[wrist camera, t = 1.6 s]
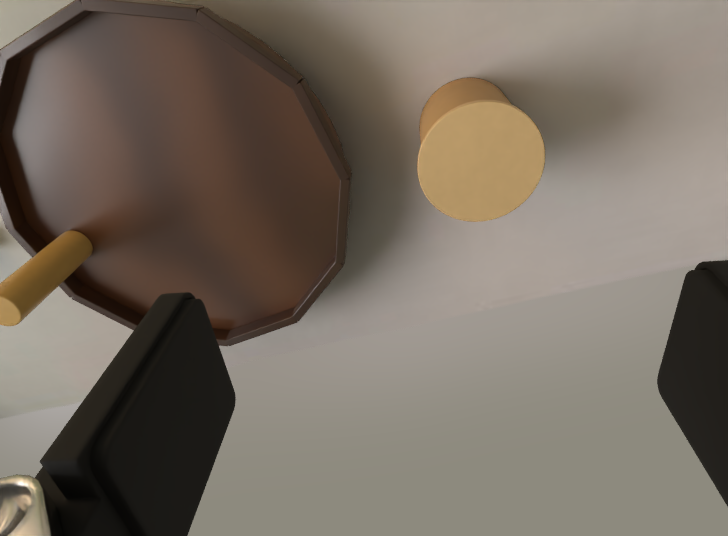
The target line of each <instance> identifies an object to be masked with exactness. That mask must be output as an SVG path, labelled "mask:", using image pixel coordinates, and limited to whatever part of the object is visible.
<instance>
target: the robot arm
mask: <svg viewBox="0 0 728 536" xmlns="http://www.w3.org/2000/svg"><path fill="white" fill-rule="evenodd" d="M657 384H658V389H659V392H660V395H661V397H662V399H663V400H664V402H665V403H666V405H667V407H668V408H669V410H670V412H671V413H672V415H673V417H674V418H675V420H676V422H677V423H678V425H679V426H680V428H681V430H682V432H683V433H684V435H685V437H686V438H687V440H688V441H689V443H690V445H691V447H692V448H693V450H694V451H695V453H696V455H697V456H698V458H699V460H700V461H701V463H702V465H703V466H704V468H705V470H706V471H707V473H708V475H709V476H710V478H711V480H712V481H713V483H714V484H715V486H716V488H717V490H718V491H719V493H720V494H721V496H722V498H723V499H724V501H725V503H726V504H727V506H728V260H725V261H708V262H701V263H699V264H698V265H697V266H696V268H695V270H691V271H689V272H688V273H687V274H686V276H685V280H684V283H683V286H682V290H681V294H680V298H679V301H678V305H677V308H676V312H675V315H674V319H673V323H672V327H671V330H670V334H669V338H668V341H667V345H666V348H665V352H664V355H663V359H662V363H661V366H660V370H659V374H658V379H657ZM234 407H235V392H234V389H233V386H232V383H231V380H230V377H229V374H228V371H227V368H226V366H225V363H224V360H223V357H222V354H221V351H220V348H219V345H218V342H217V340H216V337H215V334H214V331H213V328H212V325H211V322H210V319H209V317H208V314H207V311H206V308H205V305H204V303H203V301H202V300H201V299H196V298H195V296H194V295H193V294H192V293H190V292H184V293H167V294H161V295H160V296H159V297H158V298H157V300H156V301H155V302H154V304H153V305H152V306H151V308H150V309H149V311H148V312H147V313H146V315H145V316H144V318H143V319H142V320H141V322H140V323H139V324H138V326H137V327H136V329H135V330H134V331H133V333H132V334H131V336H130V337H129V338H128V340H127V341H126V342H125V344H124V345H123V347H122V348H121V349H120V351H119V352H118V354H117V355H116V356H115V358H114V359H113V360H112V362H111V363H110V365H109V366H108V367H107V369H106V370H105V372H104V373H103V374H102V376H101V377H100V379H99V380H98V381H97V383H96V384H95V385H94V387H93V388H92V390H91V391H90V392H89V394H88V395H87V397H86V398H85V399H84V401H83V402H82V403H81V405H80V406H79V408H78V409H77V410H76V412H75V413H74V415H73V416H72V417H71V419H70V420H69V421H68V423H67V424H66V426H65V427H64V428H63V430H62V431H61V433H60V434H59V435H58V437H57V438H56V440H55V441H54V442H53V444H52V445H51V447H50V448H49V449H48V451H47V452H46V453H45V455H44V456H43V458H42V459H41V460H40V463H41V464H42V466H43V467H42V469H41V470H40V471H39V473H38V474H37V476H36V477H35V478H33V477H31V476H29V475H13V476H8V477H3V478H0V536H187V535H188V532H189V529H190V527H191V524H192V521H193V519H194V516H195V513H196V511H197V508H198V505H199V502H200V500H201V497H202V494H203V492H204V489H205V486H206V483H207V481H208V478H209V476H210V473H211V470H212V467H213V465H214V462H215V459H216V456H217V454H218V451H219V448H220V446H221V443H222V440H223V438H224V435H225V432H226V430H227V427H228V424H229V421H230V419H231V416H232V413H233V411H234Z"/></svg>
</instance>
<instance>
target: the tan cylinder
mask: <svg viewBox="0 0 728 536" xmlns="http://www.w3.org/2000/svg"><path fill="white" fill-rule="evenodd" d="M419 128H420V140H421V147H420V150H419V155H418V163H417V167H418V177H419V182H420V185H421V188H422V190H423V192H424V194H425V196H426V197H427V198H428V200H429V201H430V202H431V203H432V204H433V205H434V207H436V208H437V209H438V210H439V211H441V212H443V213H444V214H446V215H448V216H450V217H452V218H455V219H459V220H463V221H473V222H478V221H487V220H492V219H495V218H499V217H501V216H503V215H506V214H508V213H509V212H511V211H513V210H515V209H516V208H517V207H519V206H520V205H521V204H522V203H523V202H524V201H526V200H527V198H528V197H529V196H530V195H531V194H532V192H533V191H534V189H535V188H536V186H537V184H538V183H539V181H540V178H541V176H542V173H543V169H544V164H545V147H544V142H543V138H542V136H541V133H540V131H539V129H538V128H537V126H536V125H535V123H534V122H533V121H532V119H531V118H530V117H529V116H528V115H527V114H526V113H524V112H523V111H522V110H520V109H519V108H517V107H515V106H513V105H512V104H511V103H510V102H509V100H508V99H507V98H506V96H505V95H504V94H503V93H502V91H501V90H500V89H498V88H497V87H496V86H495V85H493V84H492V83H490V82H488V81H485V80H482V79H478V78H461V79H457V80H454V81H451V82H449V83H447V84H445V85H443V86H442V87H441V88H439V89H438V90H437V91H436V92H435V93H434V94H433V95H432V96H431V97H430V98H429V100H428V101H427V103H426V105H425V107H424V109H423V111H422V114H421V118H420V126H419Z"/></svg>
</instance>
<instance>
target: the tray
mask: <svg viewBox="0 0 728 536" xmlns="http://www.w3.org/2000/svg"><path fill="white" fill-rule="evenodd" d="M351 177H352V173H351V169H350V167H349V165H348V163H347V161H346V159H345V157H344V153H343V150H342V146H341V143H340V141H339V138H338V136H337V134H336V131H335V129H334V127H333V124H332V122H331V120H330V118H329V117H328V115H327V113H326V112H325V110H324V108H323V106H322V105H321V103H320V101H319V100H318V98H317V97H316V96H315V94H314V93H313V92H312V90H311V89H310V88H309V86H308V84H307V82H306V80H305V78H303V76H302V75H301V74H299V73H298V72H296V71H295V70H294V69H293V68H292V67H291V66H290V65H289V64H288V63H287V62H286V61H285V60H284V59H283V58H282V57H281V56H280V55H279V54H277V53H276V52H275V51H274V50H272V49H271V48H270V47H269V46H268V45H266V44H265V43H264V42H263V41H261V40H260V39H258V38H257V37H255V36H254V35H252V34H250V33H249V32H247V31H246V30H244V29H242V28H241V27H239V26H238V25H236V24H234V23H232V22H229V21H227V20H225V19H223V18H221V17H219V16H218V15H217V14H215V13H214V12H212V11H211V10H210V9H208V8H205V7H204V6H195V5H185V4H179V3H173V2H167V1H162V0H74V1H73V2H71V3H70V4H68V5H67V6H65V7H64V8H62V9H61V10H59V11H58V12H56V13H55V14H53V15H52V16H50V17H49V18H47V19H46V20H44V21H43V22H41V23H39V24H38V25H36V26H35V27H33V28H32V29H30V30H29V31H27V32H26V33H24V34H23V35H21V36H20V37H18V38H17V39H15V40H14V41H12V42H11V43H9V44H8V45H6V46H5V47H3V48H1V49H0V213H1V215H2V218H3V221H4V224H5V227H6V229H8V232H9V233H10V234H11V235H12V236H13V237H14V238H15V239H16V240H17V241H18V243H19V244H20V245H21V246H22V247H23V248H24V249H25V250H26V251H27V252H28V253H29V254H30V255H31V256H32V258H31V259H30V260H29V261H27V262H26V263H25V264H24V265H23V266H21V267H20V268H19V269H18V270H16V271H15V272H14V273H13V274H11V275H10V276H9V277H8V278H6V279H5V280H4V281H3V282H1V283H0V324H1V325H4V326H14V325H17V324H19V323H20V322H21V321H22V320H23V319H24V318H25V317H26V316H27V315H28V314H29V313H30V312H31V311H32V310H34V309H35V308H36V307H37V306H38V305H39V304H40V303H41V302H42V301H43V300H44V299H45V298H46V297H47V296H48V295H49V294H50V293H51V292H53V291H54V290H55V289H56V288H57V287H58V286H60V287H61V289H62V290H63V291H64V292H65V293H66V294H67V295H68V296H69V297H72V299H73V300H75V301H77V302H79V303H81V304H83V305H85V306H87V307H89V308H91V309H93V310H95V311H97V312H99V313H101V314H103V315H105V316H107V317H109V318H111V319H112V320H114V321H116V322H118V323H120V324H122V325H124V326H126V327H128V328H130V329H132V330H135V329H136V327H137V326H138V324H139V323H140V322H141V320H142V319H143V318H144V316H145V315H146V313H147V312H148V311H149V309H150V308H151V306H152V305H153V304H154V302H155V301H156V300H157V298H158V297H159V296H160V295H161V294H167V293H184V292H190V293H192V294H193V295H194V296H195V298H196V299H201V300H202V301H203V303H204V305H205V308H206V311H207V314H208V317H209V319H210V322H211V325H212V328H213V331H214V334H215V337H216V340H217V342H218V345H221V346H228V345H229V346H231V345H234V344H237V343H240V342H242V341H245V340H248V339H251V338H254V337H257V336H260V335H263V334H265V333H268V332H271V331H274V330H277V329H280V328H283V327H285V326H288V325H291V324H294V323H297V321H299V320H300V319H301V318H302V317H303V315H304V314H305V313H306V312H307V310H308V309H309V308H310V307H311V305H312V304H313V303H314V302H315V300H316V299H317V298H318V297H319V295H320V294H321V293H322V292H323V290H324V289H325V288H326V287H327V285H328V284H329V283H330V282H331V281H332V279H333V278H334V277H335V276H336V274H337V273H338V272H339V271H340V269H341V268H342V267H343V265H344V263H345V258H346V249H347V235H348V221H349V214H350V192H351Z"/></svg>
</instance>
